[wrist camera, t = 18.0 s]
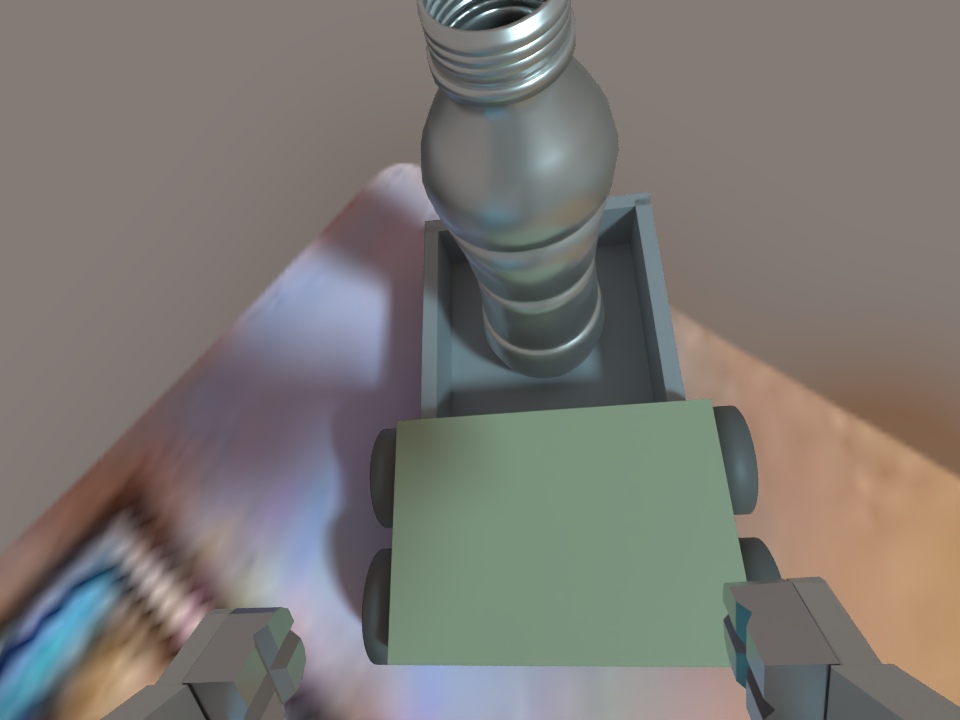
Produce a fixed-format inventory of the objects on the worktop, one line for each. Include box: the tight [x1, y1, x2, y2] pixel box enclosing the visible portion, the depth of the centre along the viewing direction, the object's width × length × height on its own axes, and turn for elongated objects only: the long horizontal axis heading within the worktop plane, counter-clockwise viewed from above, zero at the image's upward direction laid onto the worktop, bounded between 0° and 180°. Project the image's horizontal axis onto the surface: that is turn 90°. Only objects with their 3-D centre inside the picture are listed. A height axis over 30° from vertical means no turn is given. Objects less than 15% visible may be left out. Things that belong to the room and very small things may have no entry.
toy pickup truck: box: [362, 192, 781, 667], centre depth 26 cm, size 23×17×6 cm
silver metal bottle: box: [417, 0, 619, 378], centre depth 21 cm, size 6×7×20 cm
